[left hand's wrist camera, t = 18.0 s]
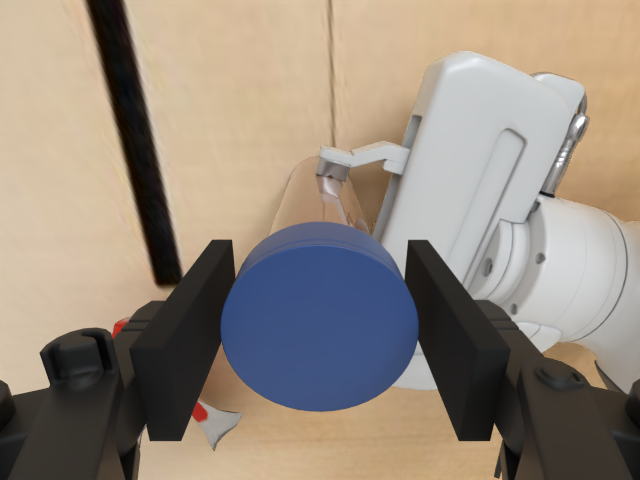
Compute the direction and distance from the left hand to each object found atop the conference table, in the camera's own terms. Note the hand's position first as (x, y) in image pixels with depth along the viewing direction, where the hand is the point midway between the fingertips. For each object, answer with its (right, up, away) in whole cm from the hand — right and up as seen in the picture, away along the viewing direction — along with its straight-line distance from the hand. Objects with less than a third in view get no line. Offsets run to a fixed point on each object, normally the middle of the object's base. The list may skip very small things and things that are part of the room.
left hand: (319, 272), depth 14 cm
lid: (0, -1, -4) cm, 4 cm away
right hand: (-1, +3, +7) cm, 8 cm away
